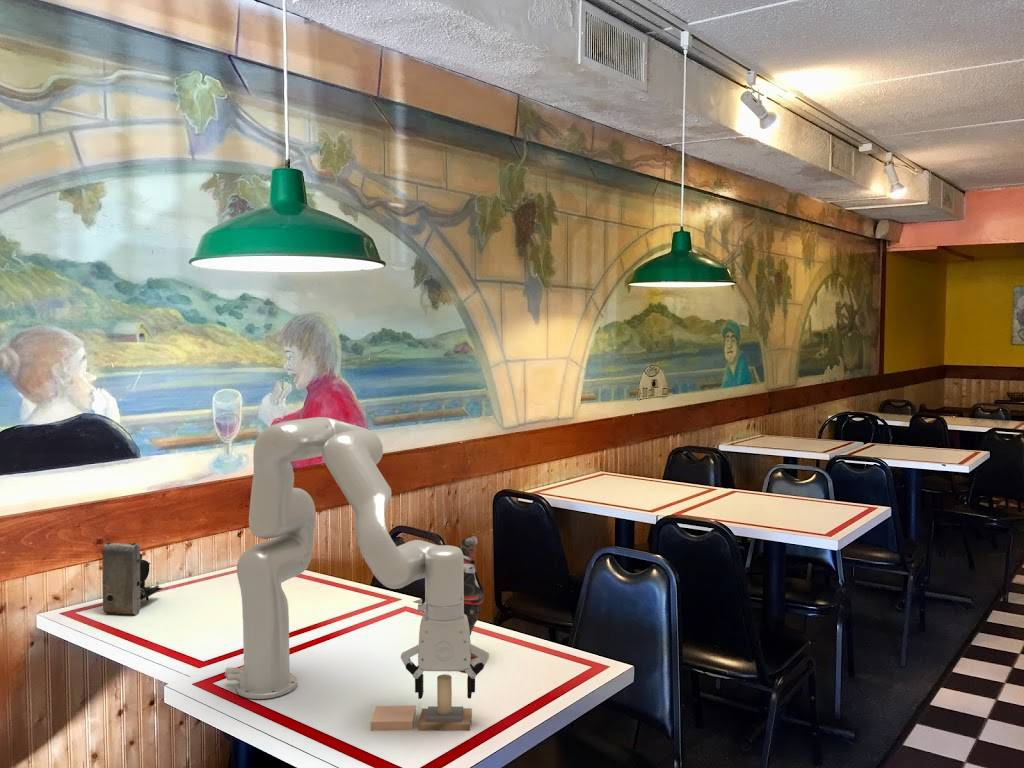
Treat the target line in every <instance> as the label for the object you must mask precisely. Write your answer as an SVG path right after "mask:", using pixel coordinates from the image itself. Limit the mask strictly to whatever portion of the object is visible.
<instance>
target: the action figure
mask: <svg viewBox="0 0 1024 768" xmlns="http://www.w3.org/2000/svg"><path fill="white" fill-rule="evenodd" d="M478 543H479V540H478V538H477V537H476V536H475V535H472V536H468V537H465V538H463V539H462V540H461V546H460V549H461V550H462V552H463V559H464V614H465V615H467V619H468V623H469V630H470V636H471V635H472V631H473V629H474V627H475V624H476V623H477V621H478V619H479V616H478V615H479V614H480V613H481V604H482V603H483V602H484V599H485V598H484V597H485V596H484V595H485V594H486V593H485V590H484V587H483V586H482V584H481V581H480V579H479V576H478V572H477V569H476V568H477V567H476V562H475V560H474V555H475V553H476V551H475V546H476V545H477V544H478ZM475 658H479V657H478V656H476V655H474V654H472V653H471V659H475ZM463 672H465V670H464V671H463Z"/></svg>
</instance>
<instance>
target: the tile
mask: <svg viewBox="0 0 1024 768" xmlns="http://www.w3.org/2000/svg"><path fill="white" fill-rule="evenodd" d="M372 714H373V715H372V717H371V720H370V731H371V732H372V731H374V732H376V731H379V732H380V731H384V732H385V731H386V732H387V731H413V730H414V725H415V721H416V717H417V706H416V705H412V704H411V705H407V704H406V705H375V708H374V711H373V713H372Z"/></svg>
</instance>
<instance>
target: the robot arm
mask: <svg viewBox="0 0 1024 768" xmlns="http://www.w3.org/2000/svg"><path fill="white" fill-rule="evenodd" d="M252 452H253V455H252V456H253V457H252V458H253V460H252V461H253V474H252V483H251V489H250V490H251V492H250V501H249V514H248V526H249V530H250V532H251V533H252V535H254V536H255V537H256V538H258V539H260V540H261V539H262V540H266V541H263V542H262V541H261V542H260V543H257V544H255V545H252V546H251V547H249V548H247V549H246V550H244V552H242V554H241V555H240V556H239V558H238V560H237V564H236V575H237V579H238V580H237V581H238V584H239V588H240V594H241V607H242V628H243V629H242V632H243V633H242V640H243V641H242V642H243V666H240V667H226V668H225V671H224V676H225V677H226V680H227V681H237V682H238V683H237V684H236V692H237V694H238V695H240V696H241V697H243V698H247V699H253V700H264V699H265V700H267V699H273V698H277V697H280V696H285V695H286V694H288V693H290V692H292V691H294V689H296V687H297V685H298V677H297V676H296V675H295V674H293V673H291V672H290V671H291V669H290V668H291V667H290V619H289V618H290V616H289V615H290V614H289V603H288V598H287V595H286V594H285V591H284V590H283V587H282V586H283V585H282V583H284V582H286V581H287V580H290V579H292V578H296V577H297V576H299V575H301V574H302V573H304V572H305V571H306V570H307V568H308V567H309V565H310V562H311V559H312V553H313V546H314V535H315V527H316V514H317V512H316V506H315V503H314V499H313V498H312V496H311V495H310V494H309V493H308V492H307V491H306V490H304V489H302V488H299V487H294V485H295V484H294V483H295V474H294V469H293V465H292V463H291V462H296V461H303V460H308V459H312V458H314V459H315V458H317V457H322V459H323V462H324V464H325V465H326V467H327V469H328V470H329V473H330V474H331V475H332V477H333V479H334V481H335V482H336V484H337V485H338V487H339V488H340V490H341V492H342V493H343V495H344V496H345V499H346V501H347V502H348V503H349V505H350V508H352V509H351V510H353V513H354V514H355V515H354V516H355V518H354V519H355V521H354V526H355V534H356V541H357V545H358V549H359V550H360V554H361V555H362V557H363V560H364V561H365V562H366V564H367V566H368V567H369V569H370V571H371V572H372V574H373V575H374V577H375V578H376V580H378V582H379V583H380V584H382V585H383V586H384V587H386V588H389V589H393V590H396V589H403V588H404V587H406V586H408V585H410V584H411V583H413V582H415V581H418V580H421V579H424V591H425V593H424V597H425V598H424V599H425V600H424V602H423V603H421V604H420V603H418V605H417V612H421V613H423V614H424V615H422V617H421V620H420V624H419V631H418V644H417V645H415V646H412V647H411V648H409V649H407V650H405V651H403V652H402V653H401V655H400V659H401V661H402V664H403V665H404V666H405V670H406V671H408V672H409V673H410V674H411V675H412V678H413V679H414V693H417V698H418V700H419V699H422V698H423V696H424V672H465V673H466V674H467V678H466V679H467V680H466V681H467V684H466V690H467V694H466V695H467V698H468V699H472V694H473V693H476V677H477V676H478V675H479V673H481V672H482V670H484V668H485V666H486V664H487V662H488V661H489V658H490V653H489V652H488V651H486V650H484V649H481V648H480V647H478V646H476V645H474V644H472V642H471V635H470V630H469V623H468V619H467V615H465V614H464V559H463V552H462V550H461V548H459V547H458V546H454V545H450V544H449V545H447V544H445V545H440V544H436V543H431V542H429V541H425V540H421V539H413V540H410V541H407V542H405V543H402V544H400V545H396V543H395V542H394V540H393V539H392V537H391V535H390V533H389V531H388V529H387V525H386V519H385V518H386V509H387V506H388V504H389V501H390V499H391V497H392V488H391V486H390V485H389V484H388V482H387V481H386V479H385V478H384V476H383V474H382V473H381V471H380V470H379V468H378V466H377V465H378V464H379V463H380V462H381V460H382V458H383V455H384V447H383V443H382V440H381V439H380V438H379V436H378V435H377V434H376V433H375V432H374V431H372V430H370V429H368V428H365V427H362V426H360V425H359V426H358V425H354V424H352V423H347V422H345V421H342V420H338V419H334V418H332V417H326V416H317V417H309V418H302V419H301V418H298V419H292V420H286V421H282V422H278V423H274V424H272V425H270V426H268V427H265V428H264V429H263V430H262V431H261V432H259V435H258V436H257V438H256V440H255V442H254V446H253V451H252ZM471 653H472V654H474V655H476V656H478V657H477V658H479V661H478V662H477V663H476V664H475V665H474V664H473V663H472V661H471V659H472V658H471ZM414 656H417V663H418V664H417V665H416V664H415V663H414V662H413V661H412V660H411V658H412V657H414ZM464 670H465V671H464Z"/></svg>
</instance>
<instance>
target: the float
mask: <svg viewBox="0 0 1024 768" xmlns="http://www.w3.org/2000/svg"><path fill="white" fill-rule="evenodd" d="M436 679H437V680H436V682H437V683H436V684H437V685H436V689H437V693H436V695H437V701H436V703H437V706H435V705H434V706H427V708H428V710H427V714H426V717H425V722H462V715H463V708H464V706H463V705H462V706H457V705H455V706H453V705H452V704H453V701H452V686H453V685H452V684H453V683H452V675H450V674H445V673H444V674H443V673H442V674H439V675H437V678H436Z"/></svg>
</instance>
